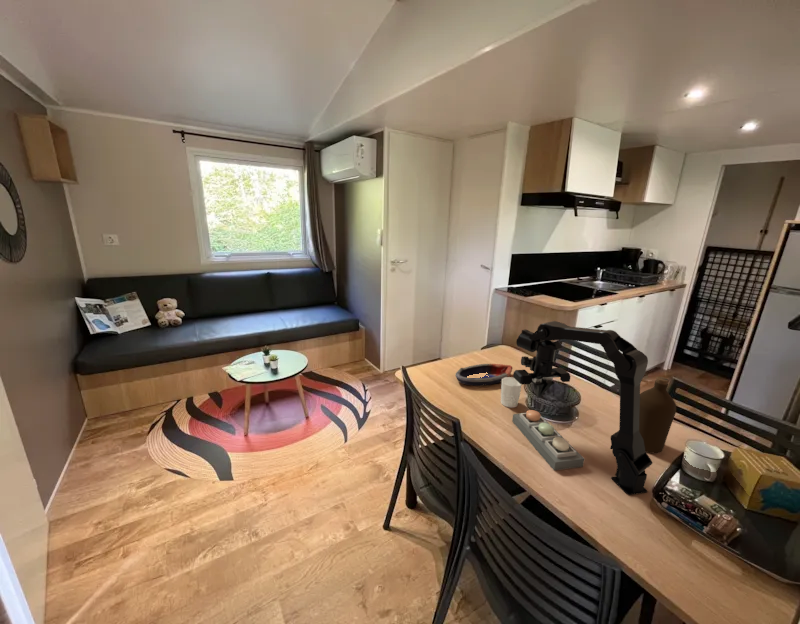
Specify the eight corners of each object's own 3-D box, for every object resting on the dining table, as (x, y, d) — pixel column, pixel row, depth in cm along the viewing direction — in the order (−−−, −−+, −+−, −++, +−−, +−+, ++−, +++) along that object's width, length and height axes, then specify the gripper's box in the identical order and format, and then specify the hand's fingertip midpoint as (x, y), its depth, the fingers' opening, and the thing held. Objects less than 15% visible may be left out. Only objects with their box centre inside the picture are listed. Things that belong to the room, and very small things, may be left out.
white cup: (499, 406, 138) (502, 384, 135) (498, 397, 145) (501, 376, 143) (519, 409, 136) (522, 387, 134) (518, 399, 144) (521, 378, 141)
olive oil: (647, 457, 111) (665, 388, 104) (619, 437, 120) (634, 373, 113) (672, 452, 113) (692, 384, 106) (643, 433, 123) (659, 370, 116)
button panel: (582, 466, 106) (585, 455, 105) (553, 470, 104) (555, 458, 103) (536, 418, 130) (537, 408, 129) (512, 421, 129) (513, 411, 127)
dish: (448, 376, 164) (448, 366, 162) (502, 368, 173) (503, 359, 172) (464, 392, 150) (465, 381, 148) (522, 382, 159) (523, 372, 158)
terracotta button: (542, 420, 122) (543, 416, 121) (530, 422, 121) (531, 418, 120) (535, 413, 126) (535, 409, 126) (523, 414, 125) (523, 410, 125)
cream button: (572, 450, 107) (572, 446, 106) (558, 452, 106) (559, 447, 105) (562, 440, 111) (563, 436, 111) (549, 442, 110) (549, 437, 110)
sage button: (556, 434, 114) (557, 430, 114) (543, 436, 113) (544, 431, 113) (548, 426, 119) (548, 422, 118) (535, 427, 118) (536, 423, 117)
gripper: (555, 346, 126) (548, 384, 130) (508, 348, 123) (503, 387, 127) (575, 359, 115) (567, 400, 120) (524, 362, 112) (518, 403, 117)
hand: (538, 397), depth 121 cm, fingers closed
